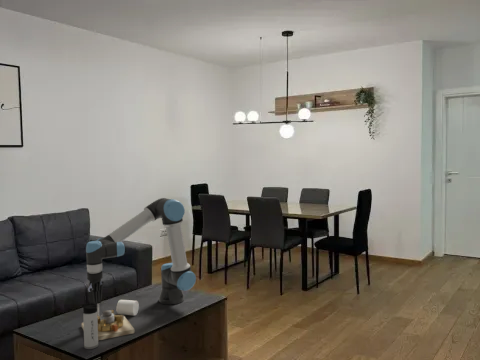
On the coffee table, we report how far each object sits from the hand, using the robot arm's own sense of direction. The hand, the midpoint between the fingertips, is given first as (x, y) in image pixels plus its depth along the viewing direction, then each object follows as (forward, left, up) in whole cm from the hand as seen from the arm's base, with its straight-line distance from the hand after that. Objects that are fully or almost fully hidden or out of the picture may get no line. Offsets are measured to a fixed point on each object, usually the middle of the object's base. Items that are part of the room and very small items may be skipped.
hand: (96, 316), depth 227 cm
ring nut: (-5, +6, -4) cm, 9 cm away
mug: (-20, -13, -7) cm, 25 cm away
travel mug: (+7, +21, -7) cm, 23 cm away
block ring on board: (-4, +5, -6) cm, 9 cm away
